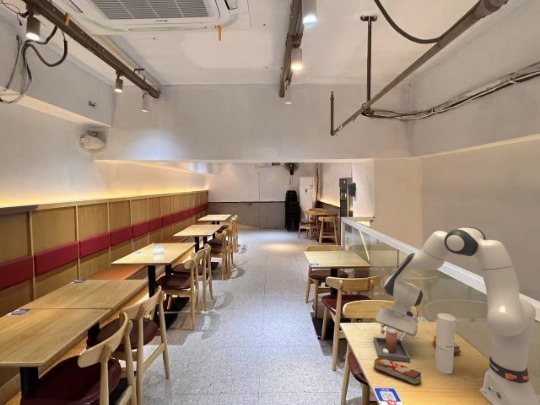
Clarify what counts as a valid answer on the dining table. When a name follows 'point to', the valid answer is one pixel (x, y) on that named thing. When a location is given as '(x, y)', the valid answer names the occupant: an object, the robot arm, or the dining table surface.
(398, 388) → the dining table surface
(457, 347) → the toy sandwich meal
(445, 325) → the cylindrical container
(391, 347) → the shaker
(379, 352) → the tray
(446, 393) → the dining table surface
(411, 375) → the pencil case
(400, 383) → the dining table surface
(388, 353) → the mixing ball
